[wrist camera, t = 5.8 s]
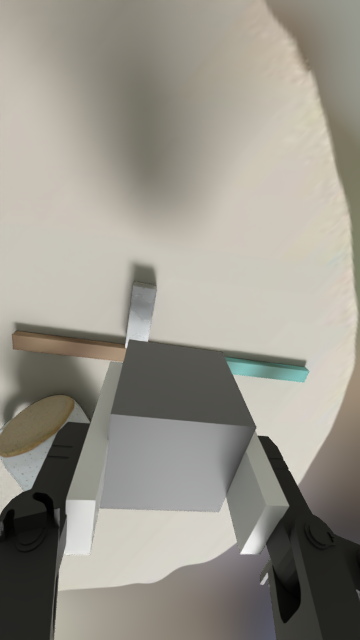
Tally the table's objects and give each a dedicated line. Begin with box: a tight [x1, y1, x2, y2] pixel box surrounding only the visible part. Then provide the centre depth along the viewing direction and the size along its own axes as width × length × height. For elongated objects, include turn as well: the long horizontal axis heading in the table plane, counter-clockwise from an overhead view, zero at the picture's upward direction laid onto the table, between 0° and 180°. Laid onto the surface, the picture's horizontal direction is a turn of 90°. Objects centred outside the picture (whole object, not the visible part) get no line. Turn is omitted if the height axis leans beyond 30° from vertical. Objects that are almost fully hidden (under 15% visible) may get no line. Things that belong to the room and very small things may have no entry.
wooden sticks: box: [12, 331, 309, 382], centre depth 28 cm, size 30×21×1 cm
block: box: [100, 339, 256, 512], centre depth 11 cm, size 5×5×5 cm
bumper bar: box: [125, 281, 157, 348], centre depth 22 cm, size 2×6×2 cm, turn 169°
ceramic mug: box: [0, 395, 90, 491], centre depth 23 cm, size 11×8×8 cm
